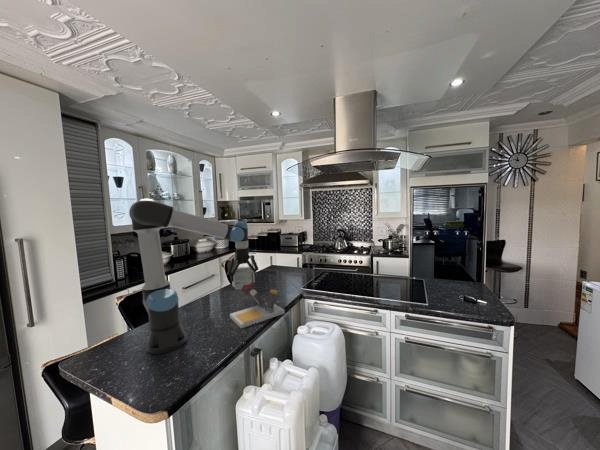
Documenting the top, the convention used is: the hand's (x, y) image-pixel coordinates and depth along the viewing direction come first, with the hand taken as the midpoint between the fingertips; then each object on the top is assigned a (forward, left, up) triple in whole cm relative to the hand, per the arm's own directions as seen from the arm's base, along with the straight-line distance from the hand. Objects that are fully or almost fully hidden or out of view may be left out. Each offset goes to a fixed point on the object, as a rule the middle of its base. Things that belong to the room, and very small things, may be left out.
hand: (243, 284), depth 145 cm
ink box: (0, 0, -2) cm, 2 cm away
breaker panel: (0, -16, -13) cm, 21 cm away
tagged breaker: (+5, -20, -10) cm, 23 cm away
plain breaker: (+5, -11, -10) cm, 16 cm away
